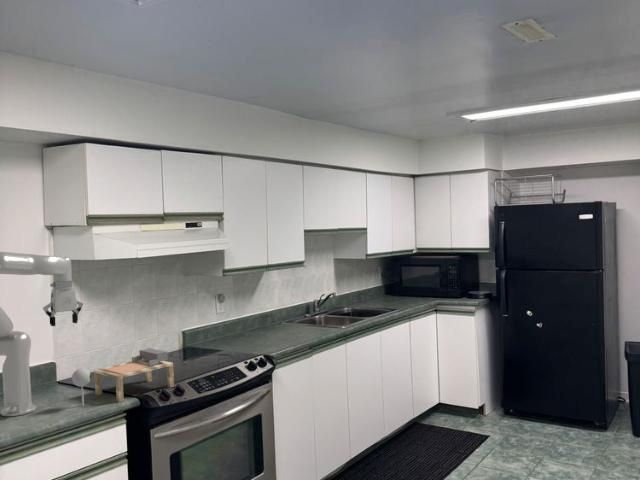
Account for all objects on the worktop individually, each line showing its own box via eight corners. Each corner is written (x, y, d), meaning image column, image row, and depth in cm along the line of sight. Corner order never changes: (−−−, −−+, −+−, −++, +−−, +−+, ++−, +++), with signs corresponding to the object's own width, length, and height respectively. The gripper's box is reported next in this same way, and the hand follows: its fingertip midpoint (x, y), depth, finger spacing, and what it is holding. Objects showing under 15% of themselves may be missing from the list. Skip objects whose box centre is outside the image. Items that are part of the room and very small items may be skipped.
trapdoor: (149, 360, 268) (149, 348, 268) (167, 364, 259) (167, 351, 259) (104, 371, 251) (104, 358, 251) (122, 376, 242) (121, 362, 242)
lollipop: (90, 407, 233) (88, 369, 232) (71, 409, 231) (69, 371, 231) (93, 402, 240) (91, 365, 239) (75, 404, 238) (73, 367, 238)
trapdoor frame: (149, 380, 271) (148, 357, 270) (174, 386, 258) (173, 362, 258) (95, 394, 251) (94, 370, 250) (119, 402, 238) (117, 376, 238)
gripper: (46, 287, 248) (48, 327, 248) (85, 283, 261) (87, 322, 261) (38, 286, 253) (40, 326, 253) (77, 283, 266) (79, 321, 266)
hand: (64, 324), depth 257 cm, fingers open, 9 cm apart
